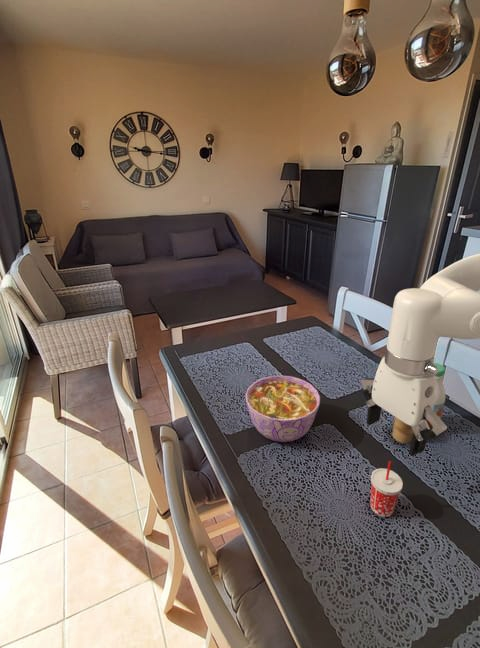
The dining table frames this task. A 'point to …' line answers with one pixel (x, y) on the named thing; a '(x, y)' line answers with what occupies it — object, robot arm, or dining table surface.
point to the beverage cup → (384, 491)
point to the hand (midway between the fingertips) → (393, 436)
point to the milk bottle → (438, 394)
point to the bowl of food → (282, 407)
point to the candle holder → (402, 431)
